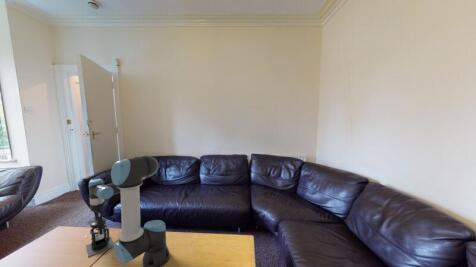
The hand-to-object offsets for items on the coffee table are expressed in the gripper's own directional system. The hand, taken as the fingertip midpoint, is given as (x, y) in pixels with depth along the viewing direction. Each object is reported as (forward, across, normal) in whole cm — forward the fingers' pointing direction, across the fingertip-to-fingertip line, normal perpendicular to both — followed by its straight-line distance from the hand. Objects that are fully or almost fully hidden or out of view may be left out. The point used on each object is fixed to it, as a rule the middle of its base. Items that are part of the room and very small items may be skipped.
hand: (99, 233), depth 125 cm
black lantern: (+8, 0, 0) cm, 9 cm away
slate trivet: (+9, 0, 0) cm, 9 cm away
